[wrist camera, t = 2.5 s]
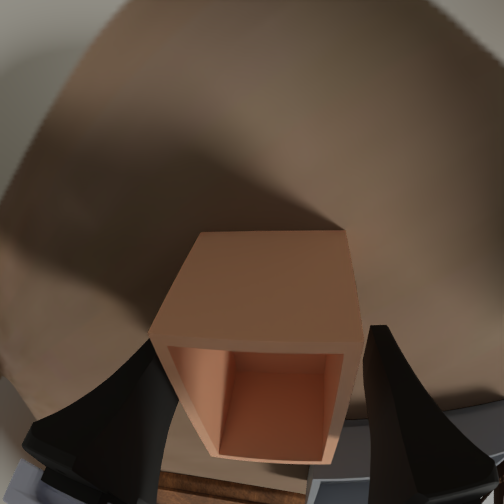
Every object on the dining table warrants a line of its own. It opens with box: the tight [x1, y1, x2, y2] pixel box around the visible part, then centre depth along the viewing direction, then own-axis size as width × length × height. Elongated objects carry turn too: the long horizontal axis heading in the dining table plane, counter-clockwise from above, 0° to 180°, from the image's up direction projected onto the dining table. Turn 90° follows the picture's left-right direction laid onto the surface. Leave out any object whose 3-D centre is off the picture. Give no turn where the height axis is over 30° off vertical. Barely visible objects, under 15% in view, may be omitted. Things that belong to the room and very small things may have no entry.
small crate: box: [148, 230, 364, 464], centre depth 11 cm, size 5×8×5 cm, turn 6°
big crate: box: [305, 400, 504, 504], centre depth 18 cm, size 14×14×4 cm
